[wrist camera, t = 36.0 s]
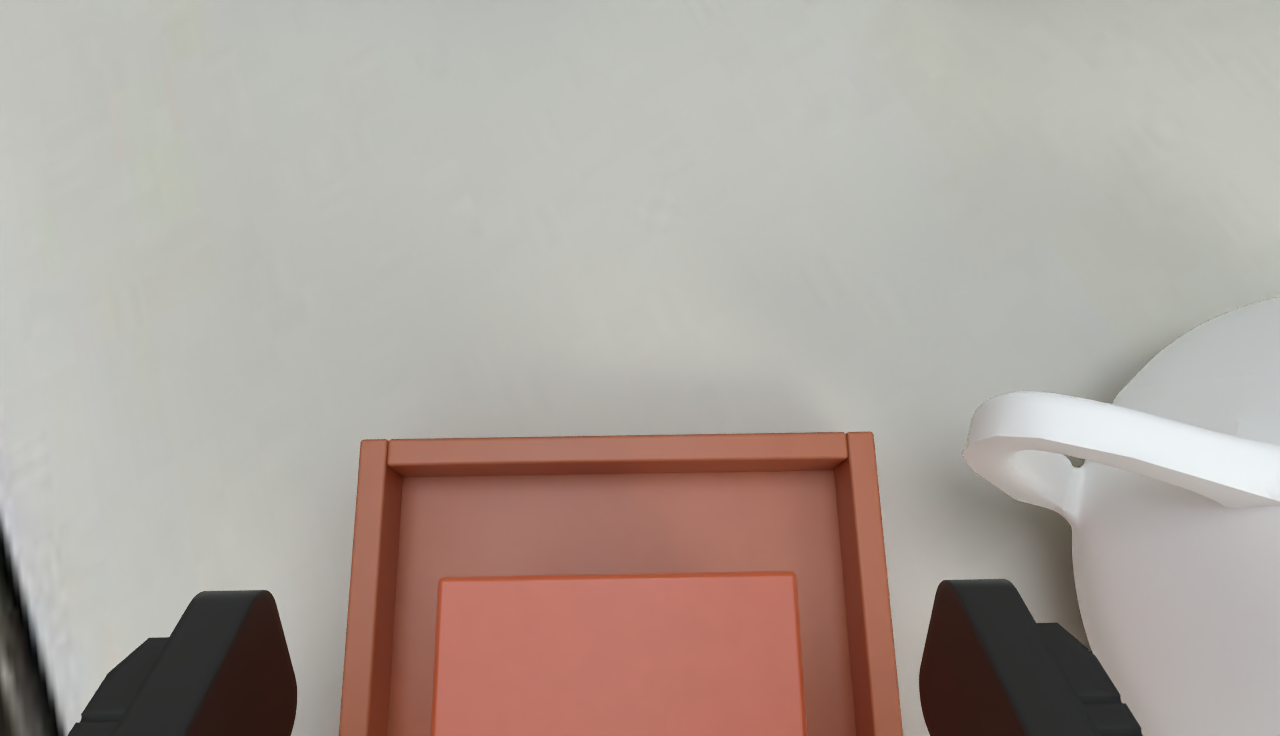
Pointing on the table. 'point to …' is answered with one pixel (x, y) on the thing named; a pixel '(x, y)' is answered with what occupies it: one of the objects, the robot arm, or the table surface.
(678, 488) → the terracotta tray
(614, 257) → the table surface
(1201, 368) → the teapot
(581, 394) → the table surface
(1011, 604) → the robot arm
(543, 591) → the terracotta block
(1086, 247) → the table surface
